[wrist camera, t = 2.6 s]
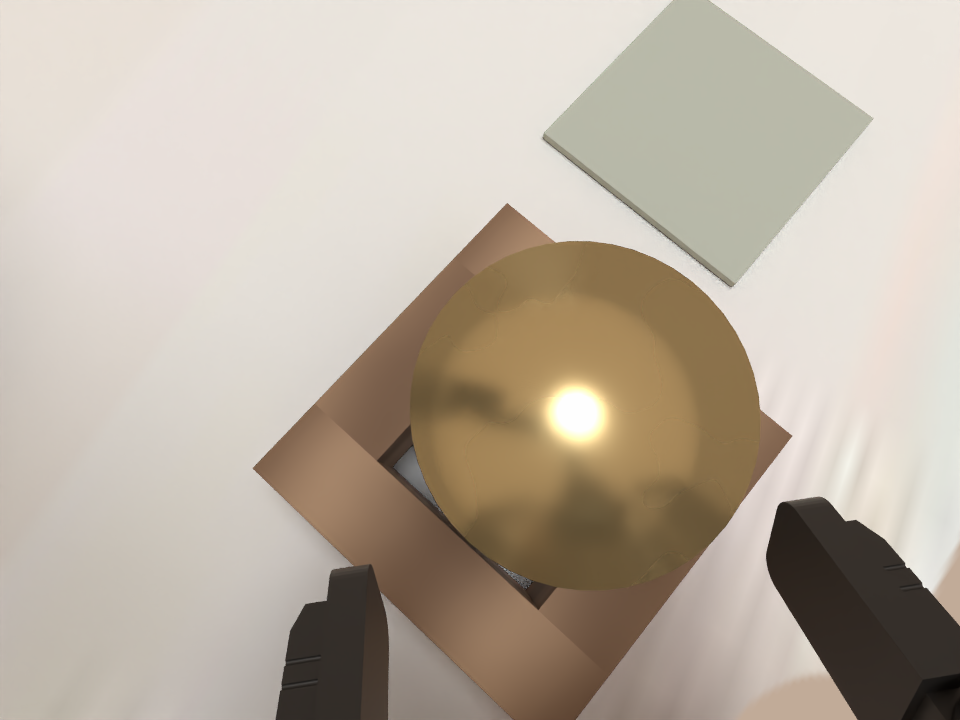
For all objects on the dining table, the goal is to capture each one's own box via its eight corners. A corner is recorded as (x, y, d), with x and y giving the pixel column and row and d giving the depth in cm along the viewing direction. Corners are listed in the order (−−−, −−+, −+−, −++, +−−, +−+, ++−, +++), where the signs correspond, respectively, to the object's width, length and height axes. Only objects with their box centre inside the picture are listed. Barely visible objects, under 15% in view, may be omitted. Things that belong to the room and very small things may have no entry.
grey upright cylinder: (414, 465, 23) (335, 419, 9) (509, 361, 24) (563, 178, 10) (523, 565, 22) (612, 674, 9) (616, 453, 23) (829, 391, 10)
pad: (542, 138, 26) (544, 132, 26) (684, -8, 28) (687, -15, 27) (731, 287, 25) (735, 283, 24) (867, 124, 26) (873, 118, 26)
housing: (289, 473, 23) (252, 468, 19) (501, 249, 25) (507, 203, 21) (534, 706, 21) (549, 753, 17) (738, 446, 23) (792, 436, 19)
